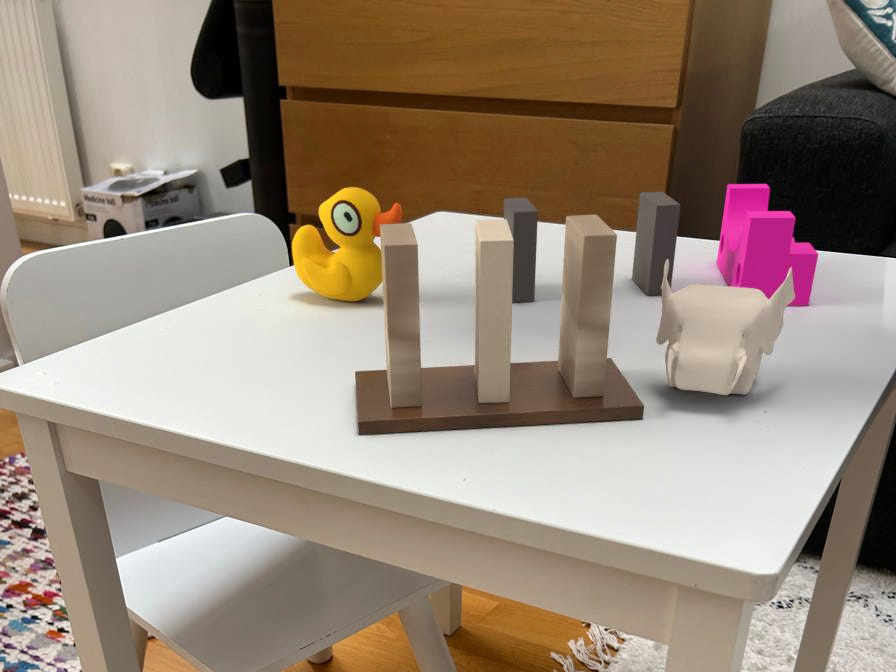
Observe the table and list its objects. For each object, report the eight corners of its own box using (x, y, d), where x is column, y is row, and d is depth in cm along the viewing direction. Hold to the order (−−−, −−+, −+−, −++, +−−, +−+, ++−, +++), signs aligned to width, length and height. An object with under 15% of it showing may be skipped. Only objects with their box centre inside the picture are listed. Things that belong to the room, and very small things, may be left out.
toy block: (808, 305, 90) (825, 217, 86) (737, 305, 91) (751, 217, 86) (778, 262, 102) (792, 183, 98) (716, 262, 103) (727, 184, 99)
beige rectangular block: (503, 373, 75) (507, 218, 69) (509, 402, 70) (513, 239, 64) (474, 374, 75) (475, 219, 69) (478, 403, 70) (479, 240, 64)
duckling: (416, 296, 96) (413, 184, 90) (393, 312, 92) (388, 196, 86) (312, 287, 100) (302, 179, 94) (286, 302, 96) (274, 190, 90)
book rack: (610, 370, 78) (623, 206, 71) (643, 419, 70) (662, 239, 63) (355, 383, 77) (344, 219, 70) (358, 434, 69) (346, 254, 62)
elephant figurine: (627, 411, 71) (640, 283, 66) (658, 357, 80) (672, 241, 75) (766, 427, 68) (790, 294, 63) (782, 369, 77) (805, 249, 72)
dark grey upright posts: (653, 277, 99) (662, 191, 94) (670, 294, 94) (680, 204, 89) (502, 285, 98) (504, 198, 94) (511, 302, 93) (513, 212, 89)
